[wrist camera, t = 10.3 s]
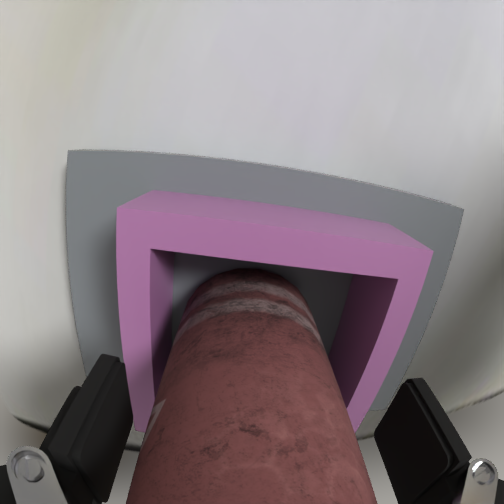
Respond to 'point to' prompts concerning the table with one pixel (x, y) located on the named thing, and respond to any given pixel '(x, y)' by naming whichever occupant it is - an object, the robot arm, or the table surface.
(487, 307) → the table surface
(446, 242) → the cup holder
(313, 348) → the can
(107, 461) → the robot arm
